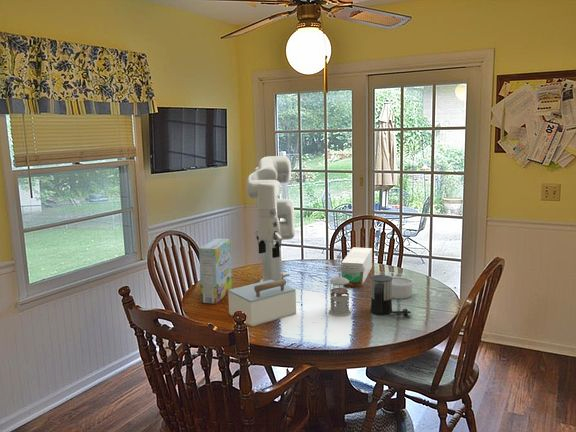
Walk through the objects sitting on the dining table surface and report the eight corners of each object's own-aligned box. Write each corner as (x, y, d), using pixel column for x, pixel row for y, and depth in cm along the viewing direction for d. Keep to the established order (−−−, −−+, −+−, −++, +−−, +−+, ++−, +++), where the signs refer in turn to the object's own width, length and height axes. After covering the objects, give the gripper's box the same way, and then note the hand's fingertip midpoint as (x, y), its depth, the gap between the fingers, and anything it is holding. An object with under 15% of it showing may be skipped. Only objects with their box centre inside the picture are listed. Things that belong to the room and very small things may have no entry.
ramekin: (418, 294, 235) (418, 280, 234) (403, 302, 225) (403, 287, 224) (393, 288, 244) (393, 274, 242) (378, 296, 234) (378, 281, 233)
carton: (271, 302, 229) (271, 281, 227) (296, 313, 215) (295, 290, 213) (229, 314, 216) (228, 291, 215) (252, 326, 202) (251, 302, 200)
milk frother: (369, 307, 220) (369, 274, 217) (405, 307, 219) (406, 273, 217) (373, 320, 206) (373, 284, 203) (412, 319, 205) (413, 284, 203)
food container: (337, 287, 248) (336, 267, 246) (340, 283, 253) (340, 264, 251) (361, 290, 243) (361, 269, 241) (365, 286, 249) (365, 266, 247)
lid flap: (271, 280, 227) (270, 269, 227) (295, 290, 213) (295, 278, 212) (228, 291, 215) (227, 279, 214) (251, 302, 200) (250, 289, 199)
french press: (335, 318, 209) (334, 259, 204) (322, 309, 219) (321, 252, 215) (355, 314, 212) (355, 256, 208) (342, 305, 223) (341, 250, 219)
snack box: (218, 304, 229) (215, 248, 224) (200, 303, 230) (196, 248, 226) (233, 289, 249) (230, 237, 245) (216, 288, 251) (213, 237, 247)
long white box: (362, 284, 252) (362, 263, 250) (341, 283, 255) (341, 262, 253) (372, 267, 282) (372, 248, 280) (352, 266, 285) (352, 247, 283)
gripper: (288, 214, 198) (289, 257, 201) (263, 209, 212) (264, 249, 215) (272, 216, 194) (273, 260, 196) (248, 211, 207) (249, 252, 210)
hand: (269, 255), depth 206 cm, fingers open, 9 cm apart
